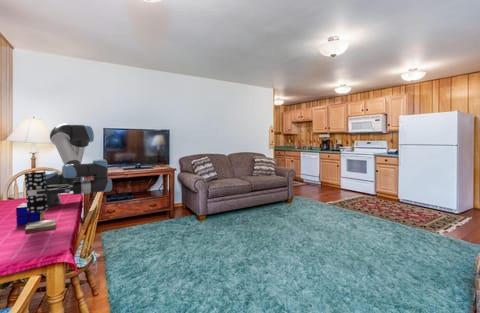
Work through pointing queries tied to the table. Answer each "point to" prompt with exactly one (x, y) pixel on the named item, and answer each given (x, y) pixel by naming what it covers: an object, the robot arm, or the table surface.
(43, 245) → the table surface
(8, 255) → the table surface
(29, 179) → the white-spotted black cylinder
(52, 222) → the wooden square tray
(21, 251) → the table surface
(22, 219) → the puzzle cube
